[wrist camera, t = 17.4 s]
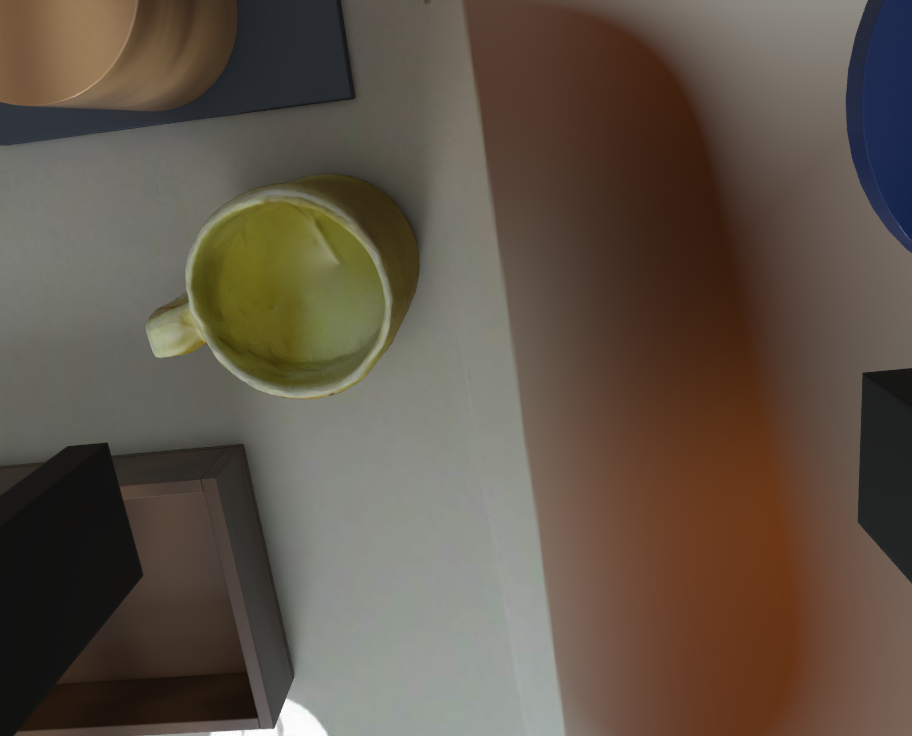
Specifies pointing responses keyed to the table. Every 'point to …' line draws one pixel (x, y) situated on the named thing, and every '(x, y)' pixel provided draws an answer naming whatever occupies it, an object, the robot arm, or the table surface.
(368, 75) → the table surface
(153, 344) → the mug
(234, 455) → the dark wooden tray
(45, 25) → the tan round tin
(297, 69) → the mat
